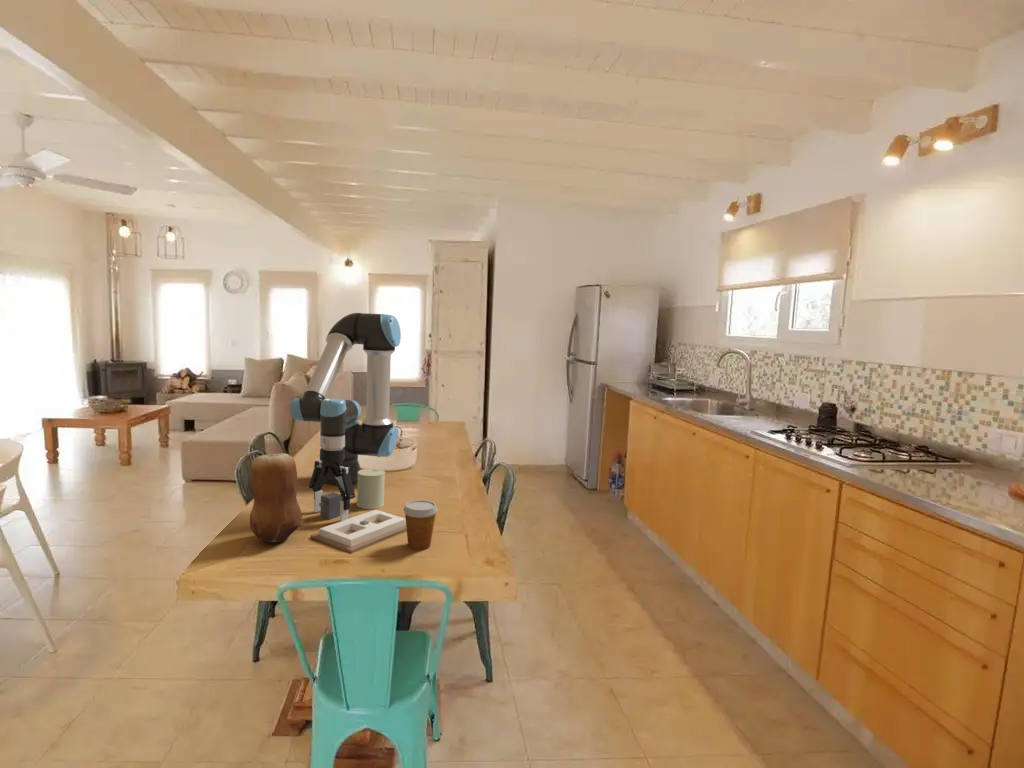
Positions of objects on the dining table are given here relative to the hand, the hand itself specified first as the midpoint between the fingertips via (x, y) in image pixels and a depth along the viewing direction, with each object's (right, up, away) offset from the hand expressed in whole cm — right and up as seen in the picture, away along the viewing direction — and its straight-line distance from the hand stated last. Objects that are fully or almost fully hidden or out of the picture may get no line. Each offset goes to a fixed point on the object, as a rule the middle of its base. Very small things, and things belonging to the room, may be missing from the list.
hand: (331, 515), depth 184 cm
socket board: (+14, -2, -12) cm, 18 cm away
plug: (0, 0, 0) cm, 0 cm away
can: (+9, 0, +13) cm, 16 cm away
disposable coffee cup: (+31, -5, -19) cm, 37 cm away
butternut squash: (-9, -3, -21) cm, 23 cm away
